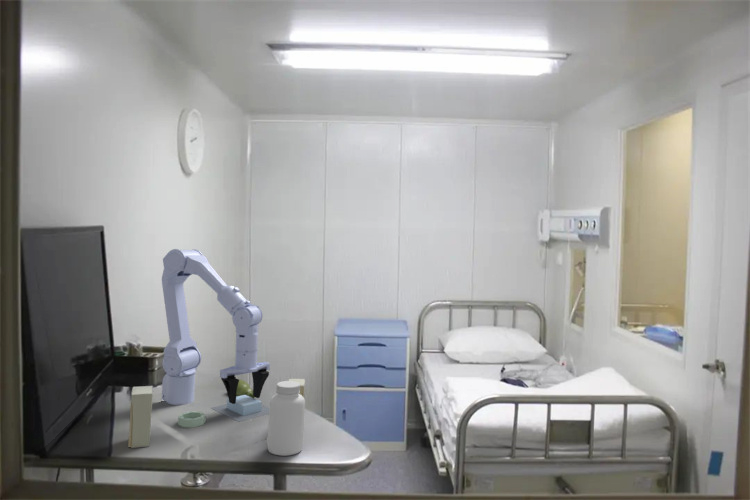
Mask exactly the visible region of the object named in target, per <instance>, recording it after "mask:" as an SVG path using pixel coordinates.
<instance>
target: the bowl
mask: <svg viewBox="0 0 750 500" xmlns="http://www.w3.org/2000/svg"><path fill="white" fill-rule="evenodd" d="M206 418H207V414H206V413H205V412H203V411H194V410H191V411H187V412H186V411H185V412H183V413H180V415H179V416H178V417H177V425H178V426H180V427H182V428H196V427H200V426H203V425H204V424H205V423H206V422H207V421H206V420H207V419H206Z"/></svg>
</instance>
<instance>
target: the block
mask: <svg viewBox="0 0 750 500" xmlns="http://www.w3.org/2000/svg"><path fill="white" fill-rule="evenodd" d="M226 404H227V408H228V409H230V410H232V411H234V412H236V413H238V414H241V415H243V416H244V415H248V414H252V413H256V412H260V411H261V405H263V403H262V400H259V399H258V398H252V397H249V396H247V395H242V396H236V403H235V404H232V403H230V402H229V398H227V401H226Z"/></svg>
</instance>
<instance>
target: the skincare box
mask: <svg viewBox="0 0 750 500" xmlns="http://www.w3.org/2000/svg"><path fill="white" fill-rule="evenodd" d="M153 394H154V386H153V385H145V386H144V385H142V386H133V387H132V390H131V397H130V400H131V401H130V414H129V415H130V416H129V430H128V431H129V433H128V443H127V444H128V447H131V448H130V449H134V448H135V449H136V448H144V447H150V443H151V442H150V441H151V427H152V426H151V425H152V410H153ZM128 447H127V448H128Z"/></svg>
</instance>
